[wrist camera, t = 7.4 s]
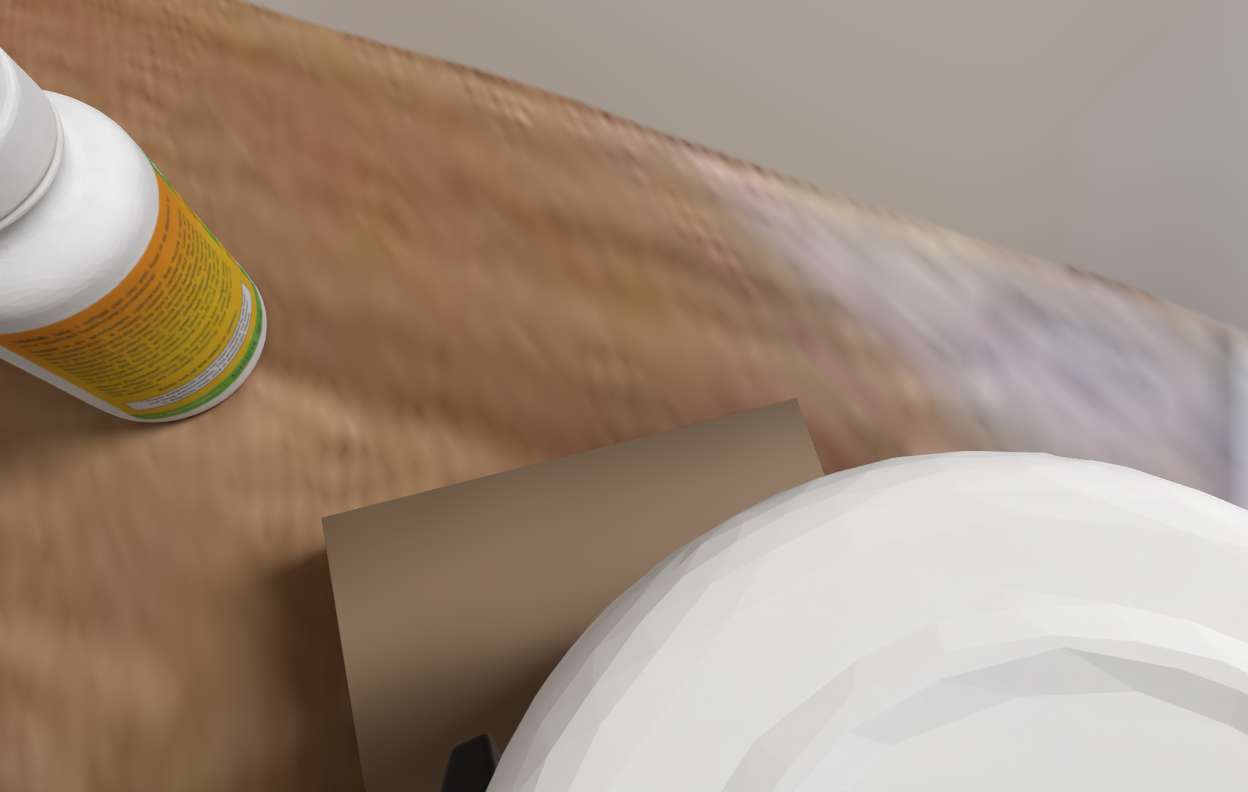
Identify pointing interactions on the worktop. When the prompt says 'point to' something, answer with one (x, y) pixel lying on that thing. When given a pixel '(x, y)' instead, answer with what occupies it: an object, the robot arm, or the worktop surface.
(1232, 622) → the sprinkles bottle
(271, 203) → the worktop surface
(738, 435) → the walnut block
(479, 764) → the robot arm
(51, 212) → the supplement bottle
